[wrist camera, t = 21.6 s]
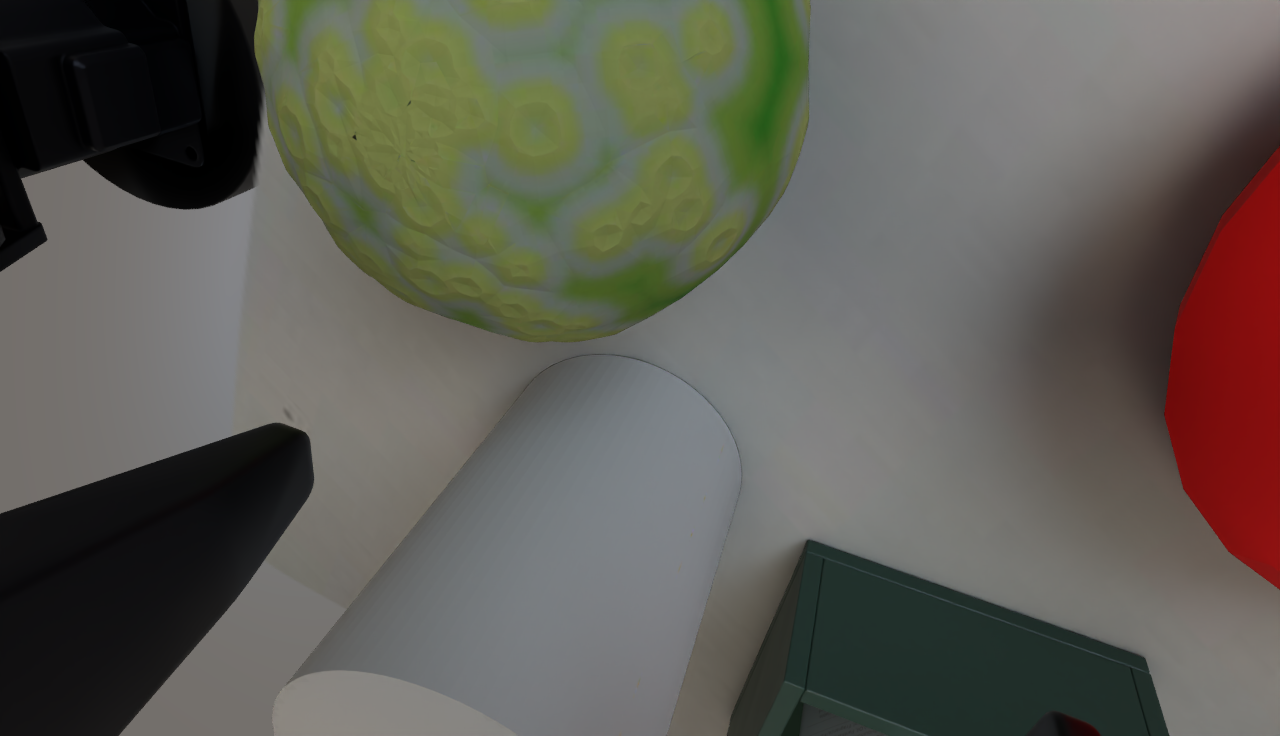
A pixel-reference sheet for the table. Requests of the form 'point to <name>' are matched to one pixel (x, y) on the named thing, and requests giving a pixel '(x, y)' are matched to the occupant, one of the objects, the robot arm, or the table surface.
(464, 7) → the decorative ball
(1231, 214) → the flat cone with hole
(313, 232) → the table surface
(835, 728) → the cosmetic box
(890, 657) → the bin
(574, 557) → the white cylinder block
